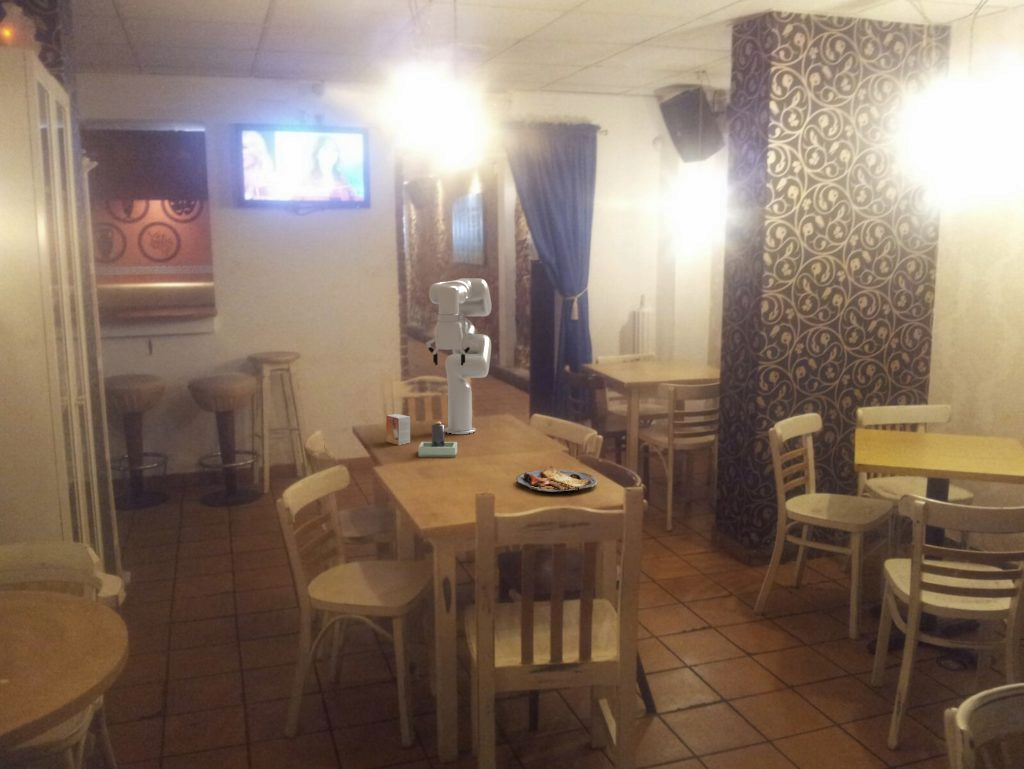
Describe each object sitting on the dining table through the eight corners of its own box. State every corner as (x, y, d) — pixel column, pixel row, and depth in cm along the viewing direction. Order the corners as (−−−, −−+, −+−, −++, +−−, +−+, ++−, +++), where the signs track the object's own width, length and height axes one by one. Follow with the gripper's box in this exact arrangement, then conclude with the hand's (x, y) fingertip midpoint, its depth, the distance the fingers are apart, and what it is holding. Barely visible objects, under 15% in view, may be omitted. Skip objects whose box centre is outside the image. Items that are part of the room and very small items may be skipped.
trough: (421, 451, 322) (421, 441, 321) (457, 451, 321) (457, 442, 321) (418, 457, 313) (418, 447, 312) (455, 457, 313) (455, 447, 312)
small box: (386, 442, 337) (385, 415, 335) (398, 440, 341) (397, 413, 339) (398, 445, 331) (398, 418, 330) (410, 443, 335) (410, 416, 334)
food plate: (502, 482, 279) (502, 471, 278) (558, 471, 293) (559, 461, 292) (553, 501, 259) (553, 490, 259) (610, 489, 273) (611, 478, 273)
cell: (431, 450, 319) (432, 421, 318) (444, 450, 319) (444, 421, 318) (431, 453, 315) (431, 423, 313) (443, 453, 315) (444, 423, 313)
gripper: (472, 318, 329) (473, 363, 332) (426, 318, 330) (427, 363, 332) (471, 319, 322) (472, 366, 324) (424, 319, 322) (425, 366, 325)
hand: (449, 364), depth 328 cm, fingers open, 9 cm apart
